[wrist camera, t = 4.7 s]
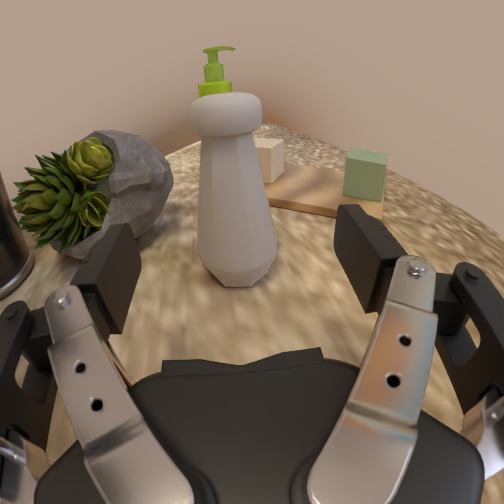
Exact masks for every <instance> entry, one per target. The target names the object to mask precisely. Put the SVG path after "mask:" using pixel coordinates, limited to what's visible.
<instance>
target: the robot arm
mask: <svg viewBox="0 0 504 504" xmlns="http://www.w3.org/2000/svg"><path fill="white" fill-rule="evenodd" d="M11 207H12V205H11V203H10V200H9V197H8V194H7V191H6V188H5V185H4V182H3V178H2V175H1V172H0V299H2V298H4V297H5V296H7V295H8V294H9V293H11V292H12V291H13V290H14V289H15V288H16V287H17V286H18V285H19V284H20V283H21V282H22V281H23V280H24V279H25V278H26V276H27V275H28V273H29V272H30V270H31V268H32V266H33V263H34V256H33V254H32V252H31V250H30V248H29V247H28V245H27V243H26V241H25V238H24V236H23V234H22V231H21V230H20V226H19V224H18V225H17V223H18V221H17V219H16V216H15V214H14V211H13V208H11ZM334 250H335V253H336V256H337V258H338V260H339V261H340V263H341V265H342V267H343V269H344V271H345V273H346V275H347V277H348V279H349V281H350V283H351V285H352V287H353V289H354V291H355V293H356V295H357V297H358V299H359V301H360V304H361V306H362V308H363V310H364V312H365V314H366V313H371V312H377V313H378V315H379V316H378V319H377V321H376V324H375V327H374V330H373V332H372V335H371V338H370V340H369V343H368V346H367V348H366V351H365V353H364V356H363V358H362V360H361V363H360V365H359V367H356V366H354V365H352V364H349V363H347V362H343V361H339V360H335V359H329V358H323V354H322V351H321V347H318V348H311V349H304V350H297V351H289V352H282V353H279V354H276V355H273V356H270V357H267V358H264V359H261V360H258V361H255V362H252V363H249V364H245V365H233V364H226V363H220V362H213V361H207V360H202V359H195V360H163V362H162V370H161V372H159V373H155V374H152V375H150V376H147V377H145V378H143V379H141V380H140V381H138V382H136V383H135V384H133V382H132V380H131V379H130V377H129V376H128V374H127V372H126V371H125V369H124V367H123V365H122V364H121V362H120V360H119V358H118V357H117V355H116V353H115V351H114V349H113V348H112V346H111V344H110V342H109V341H108V339H109V335H110V334H122V331H123V327H124V324H125V320H126V317H127V313H128V310H129V307H130V303H131V300H132V297H133V294H134V290H135V287H136V284H137V281H138V278H139V275H140V272H141V257H140V253H139V250H138V247H137V244H136V241H135V237H134V234H133V231H132V227H131V225H130V224H129V223H122V224H114V225H110V226H109V228H108V229H107V231H106V232H105V234H104V236H103V237H102V238H101V239H99V240H98V241H97V242H96V243H95V244H94V245H93V246H91V248H90V250H89V251H88V253H87V255H86V257H85V258H84V260H83V261H82V264H81V265H80V267H79V268H78V270H77V272H76V274H75V276H74V277H73V279H72V281H71V283H70V285H66V286H63V287H60V288H58V289H57V290H55V291H54V292H53V293H52V294H51V295H50V296H49V297H48V298H47V300H46V302H45V307H42V308H39V309H36V310H33V311H30V309H29V308H28V306H27V304H26V303H25V302H24V301H16V302H13V303H12V304H10V305H9V306H7V307H6V308H5V309H4V311H3V312H2V313H1V315H0V502H1V503H4V504H481V497H482V492H483V487H484V481H485V480H487V479H488V478H490V477H491V476H493V475H494V474H496V473H497V472H499V471H500V470H502V469H503V468H504V299H503V297H502V296H501V294H500V293H499V292H498V290H497V289H496V288H495V286H494V285H493V284H492V282H491V281H490V280H489V278H488V277H487V276H486V275H485V273H484V272H483V271H482V270H481V269H480V268H478V267H477V266H475V265H473V264H470V263H466V262H462V263H458V264H457V265H456V267H455V269H454V271H453V274H444V273H436V271H435V269H434V267H433V266H432V265H431V264H430V263H429V262H428V261H426V260H425V259H423V258H421V257H418V256H413V255H408V254H407V252H406V251H405V250H404V249H403V247H402V246H401V245H400V244H399V242H398V241H397V240H396V239H395V238H394V237H393V235H392V234H391V233H390V232H389V231H387V228H386V227H385V226H384V224H383V223H382V222H381V221H379V220H378V219H376V218H375V217H373V216H371V215H368V214H367V213H366V212H365V211H364V210H363V208H362V207H361V206H360V205H359V204H340V205H339V206H338V208H337V215H336V224H335V233H334ZM469 318H471V319H472V321H473V323H474V324H475V326H476V328H477V329H478V331H479V334H480V345H479V347H478V349H477V348H476V346H475V344H474V342H473V340H472V338H471V336H470V335H469V333H468V331H467V329H466V327H465V325H466V323H467V322H468V320H469ZM434 345H435V347H436V349H437V351H438V353H439V355H440V357H441V360H442V362H443V364H444V366H445V369H446V371H447V373H448V376H449V378H450V380H451V383H452V385H453V388H454V390H455V393H456V395H457V398H458V400H459V403H460V406H461V408H462V411H463V414H464V419H463V424H462V427H463V429H462V430H461V431H460V433H457V432H455V431H454V430H452V429H451V428H449V427H448V426H446V425H444V424H443V423H441V422H440V421H438V420H437V419H435V418H434V417H432V416H430V415H429V414H427V413H426V412H424V411H423V410H421V407H422V403H423V399H424V395H425V391H426V386H427V382H428V377H429V373H430V368H431V362H432V357H433V351H434ZM21 354H22V355H23V356H24V358H25V359H26V360H27V361H28V362H29V365H28V369H27V372H26V375H25V378H24V381H23V385H22V388H20V387H19V386H18V385H17V383H16V380H15V370H16V367H17V364H18V362H19V359H20V356H21ZM57 389H59V392H60V395H61V398H62V400H63V403H64V406H65V409H66V411H67V414H68V416H69V419H70V421H71V424H72V426H73V428H74V431H75V433H76V435H77V438H78V440H77V441H76V442H75V443H74V444H73V445H72V446H71V447H70V448H69V449H68V450H67V451H66V452H65V453H64V454H63V455H62V456H61V457H60V458H59V459H58V460H57V461H56V462H55V463H54V464H53V465H50V464H49V462H48V458H47V455H46V448H47V441H48V434H49V428H50V422H51V417H52V412H53V407H54V402H55V398H56V393H57Z"/></svg>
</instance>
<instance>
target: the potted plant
mask: <svg viewBox="0 0 504 504" xmlns="http://www.w3.org/2000/svg"><path fill="white" fill-rule="evenodd" d="M51 153H52V154H53V156H54V157H55V159H53V158H50V157H47V156H44V155H42V156H43V157H44V158H45V159H44V158H41V157H39V156H37V155H35V156H36V157H37V159H38V161H39V163H40V165H41V167H42V169H43V170H42V169H34V168H29V167H25V169H26V170H27V171H28V173H29V174H30V176H33V177H34V178H35V180H27V181H23V182H15V183H14V184H15V185H16V186H17V187H18V188H19V189H20V190H19V192H20V193H18V195H19V196H17V197H16V198H14V199H12V201H14V202H16V203H17V204H16V205H15V206H14V207H11V208H13V209H15V210H17V212H18V213H22V214H25V216H21V217H22V218H21V219H20V221H19V222H18V223H17V225H18V224H22V225H23V226H22V228H21V229H20V230H26V229H27V230H28V229H29V230H28V231H27V232H35V231H36V232H35V233H34V234H33V235H32V236H31V237H33V236H35V235H38V234H41V235H40V236H39V237H38V238H37V239H36V240H35V241H37V240H38V242H37V245H36V247H35V248H34V249H37V248H42V247H44V246H45V245H48V244H50V245H51V246H52V248H53V249H54V250H56V251H59V253H60V254H61V253H63V254H66V255H68V256H70V257H73V258H78V259H83V260H84V258H85V257H86V255H87V253H88V251H89V250H90V248H91V246H93V245H94V244H95V243H96V242H97V241H98V240H99V239H101V238H102V237H103V236H104V234H105V232H106V231H107V229H108V228H109V226H110V225H114V224H122V223H129V224H130V225H131V227H132V231H133V234H134V237H135V238H137V237H138V236H140V235H142V234H143V233H145V232H146V231H148V230H149V228H150V227H151V226H152V224H153V223H154V221H155V220H156V219H157V217H158V216H159V215H160V213H161V211H162V209H163V206H164V204H165V202H166V200H167V198H168V195H169V193H170V191H171V189H172V187H173V176H172V172H171V168H170V165H169V163H168V161H167V160H166V159H165V157H164V156H163V154H162V153H161V152H160V150H159V149H157V148H156V147H154V146H153V145H151V144H150V143H149V142H147V141H146V140H144V139H143V138H142V137H140V136H138V135H133V134H129V133H124V132H119V131H114V130H101V131H95V132H93V133H91V134H90V135H88V136H87V137H85V138H84V139H82V140H81V141H79V142H75V143H74V144H73V146H70V148H69V149H68V150H67V151H64V153H63V154H62V155H60V154H57V153H54V152H51Z"/></svg>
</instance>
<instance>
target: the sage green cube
mask: <svg viewBox="0 0 504 504" xmlns="http://www.w3.org/2000/svg"><path fill="white" fill-rule="evenodd" d="M386 168H387V154H383V153H377V152H372V151H367V150H361V149H354V148H351V149H350V151H349V152H348V154H347V156H346V161H345V173H344V185H343V195H345V196H350V197H356V198H361V199H366V200H371V201H376V202H380V203H381V201H382V195H383V189H384V182H385V176H386Z"/></svg>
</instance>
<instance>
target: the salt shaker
mask: <svg viewBox="0 0 504 504" xmlns="http://www.w3.org/2000/svg"><path fill="white" fill-rule="evenodd" d="M189 120H190V126H191V129H192V131H193V133H195V134H196V135H199V136H202V139H201V155H200V175H199V200H198V242H197V250H198V252H199V255H200V257H201V259H202V262H203V264H204V266H205V267H206V268H207V269H208V270H209V271H210V272H211V273H212V274H213V275H214V276H215V277H216V278H217V279H218V280H219V281H220V282H221V283H222V284H223V285H224V286H225V287H251V286H252V285H253V284H255V283H256V282H257V281H258V280H260V279H261V278H262V277H263V276H265V275H266V274H267V272H268V270H269V268H270V266H271V264H272V262H273V260H274V259H275V257H276V255H277V249H278V246H277V236H276V232H275V228H274V223H273V219H272V215H271V211H270V207H269V202H268V198H267V194H266V190H265V186H264V182H263V178H262V173H261V169H260V164H259V160H258V155H257V151H256V147H255V142H254V138H253V134H252V132H254V131H256V130H258V129H260V127H261V124H262V107H261V103H260V100H259V99H258V98H257V97H256V96H255V95H252V94H249V93H234V92H231V93H219V94H213V95H207V96H203V97H201V98H199V99H197V100H195V101H194V102H193V104H192V105H191V106H190V112H189Z"/></svg>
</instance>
